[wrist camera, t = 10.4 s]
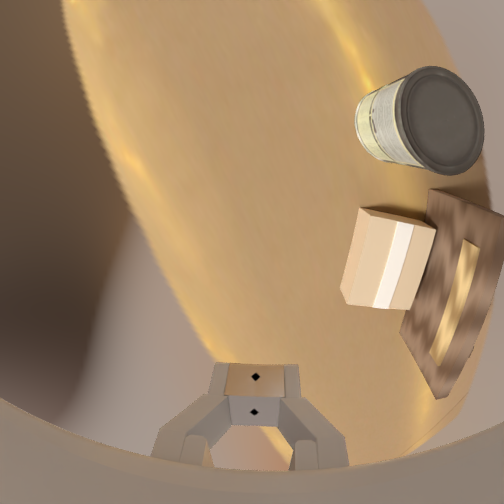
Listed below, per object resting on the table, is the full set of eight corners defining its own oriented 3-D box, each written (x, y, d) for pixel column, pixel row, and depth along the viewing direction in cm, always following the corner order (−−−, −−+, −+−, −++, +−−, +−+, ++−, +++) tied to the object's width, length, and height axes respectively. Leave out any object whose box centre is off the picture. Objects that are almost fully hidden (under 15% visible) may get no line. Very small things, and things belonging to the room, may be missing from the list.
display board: (426, 188, 35) (499, 217, 20) (463, 194, 34) (535, 223, 19) (397, 332, 43) (433, 400, 28) (431, 329, 43) (472, 390, 28)
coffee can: (387, 74, 30) (440, 47, 16) (433, 132, 32) (498, 134, 19) (337, 120, 33) (375, 106, 19) (388, 178, 35) (444, 198, 22)
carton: (358, 206, 37) (371, 216, 32) (419, 219, 37) (436, 230, 32) (339, 286, 41) (347, 305, 36) (397, 293, 41) (410, 310, 36)
